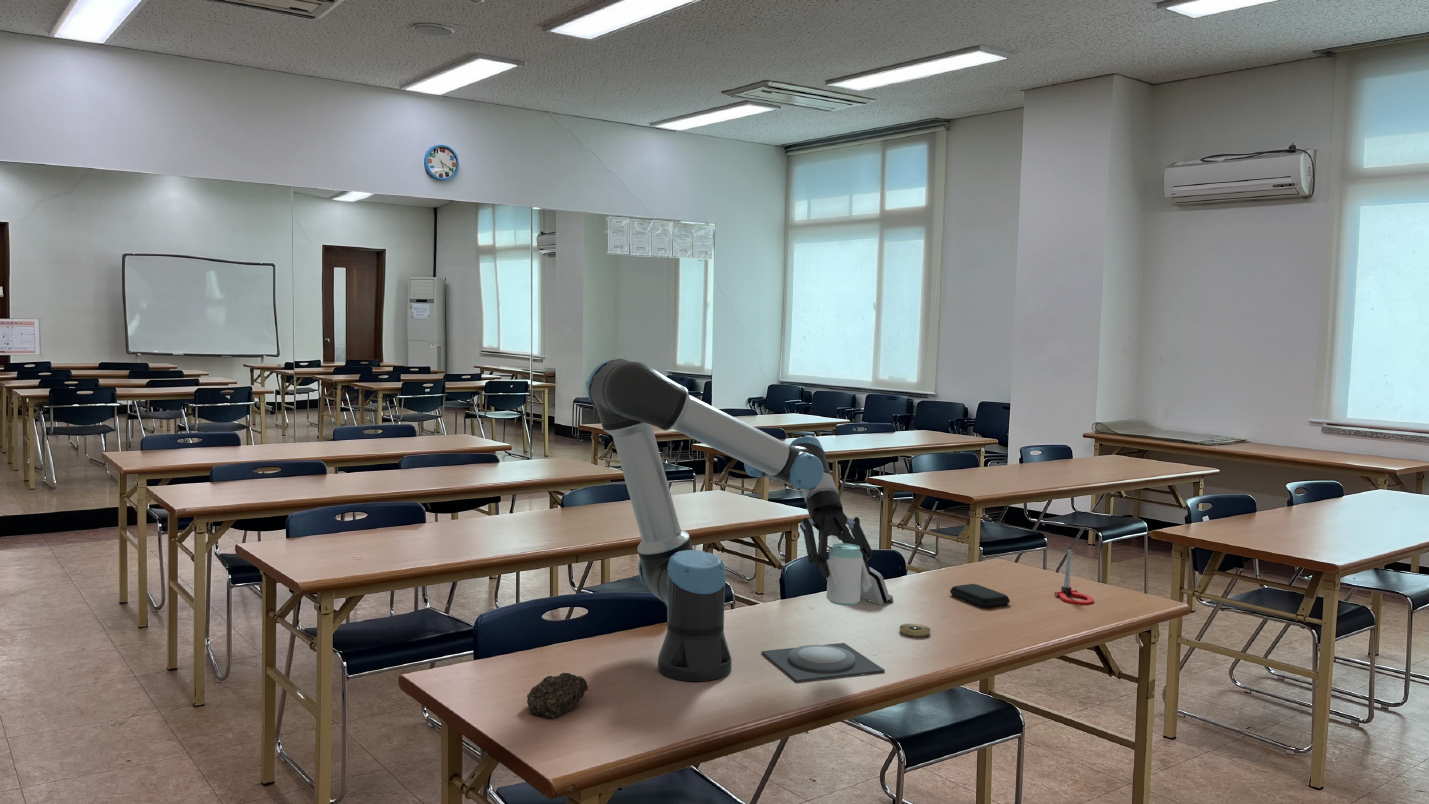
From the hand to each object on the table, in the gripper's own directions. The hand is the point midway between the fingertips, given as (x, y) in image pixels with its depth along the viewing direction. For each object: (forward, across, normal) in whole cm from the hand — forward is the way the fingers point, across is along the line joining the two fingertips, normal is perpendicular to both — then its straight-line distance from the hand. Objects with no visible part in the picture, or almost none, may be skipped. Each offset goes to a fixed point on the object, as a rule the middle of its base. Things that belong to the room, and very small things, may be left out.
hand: (851, 588), depth 205 cm
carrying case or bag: (-14, -58, -36) cm, 70 cm away
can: (0, 0, -5) cm, 5 cm away
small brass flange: (0, -26, -22) cm, 34 cm away
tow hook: (-10, -83, -31) cm, 89 cm away
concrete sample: (+16, +62, -10) cm, 65 cm away
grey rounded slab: (-22, -29, -45) cm, 58 cm away
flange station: (+9, +4, -14) cm, 18 cm away
